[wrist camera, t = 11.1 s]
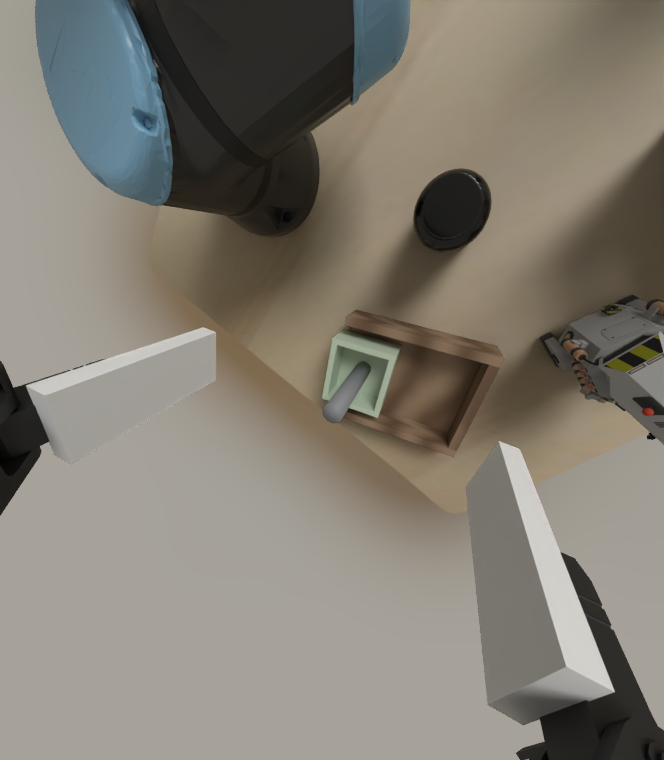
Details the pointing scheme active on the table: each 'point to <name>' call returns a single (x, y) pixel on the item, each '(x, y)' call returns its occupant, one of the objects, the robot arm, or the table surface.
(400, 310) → the table surface
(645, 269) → the table surface
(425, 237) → the supplement bottle
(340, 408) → the green box with handle
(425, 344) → the bay
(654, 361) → the figurine
